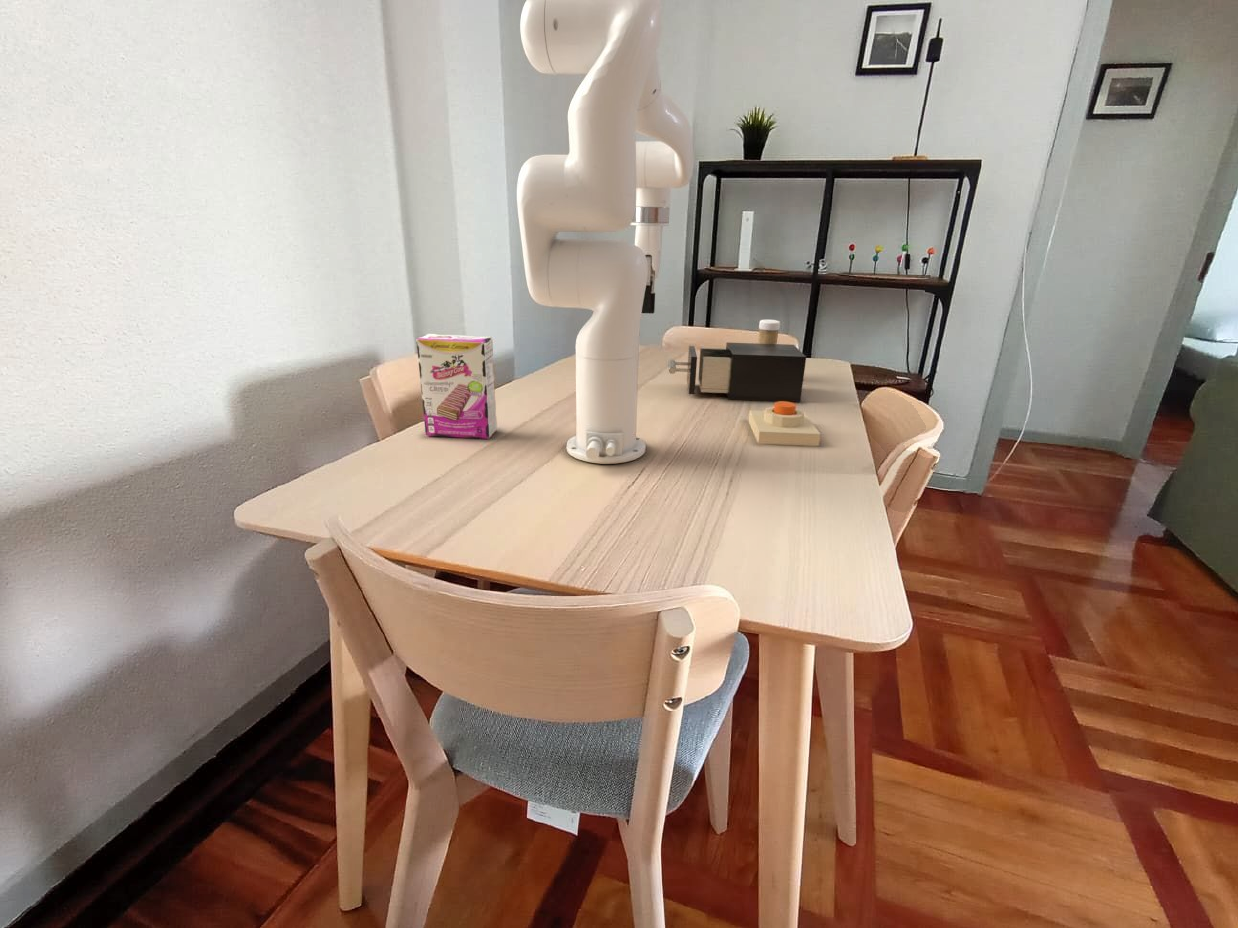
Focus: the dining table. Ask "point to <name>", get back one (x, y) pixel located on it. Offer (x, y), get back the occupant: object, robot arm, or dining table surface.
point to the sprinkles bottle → (768, 331)
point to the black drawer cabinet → (766, 372)
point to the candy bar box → (457, 385)
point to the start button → (784, 408)
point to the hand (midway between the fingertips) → (646, 312)
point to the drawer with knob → (706, 369)
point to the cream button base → (783, 428)
